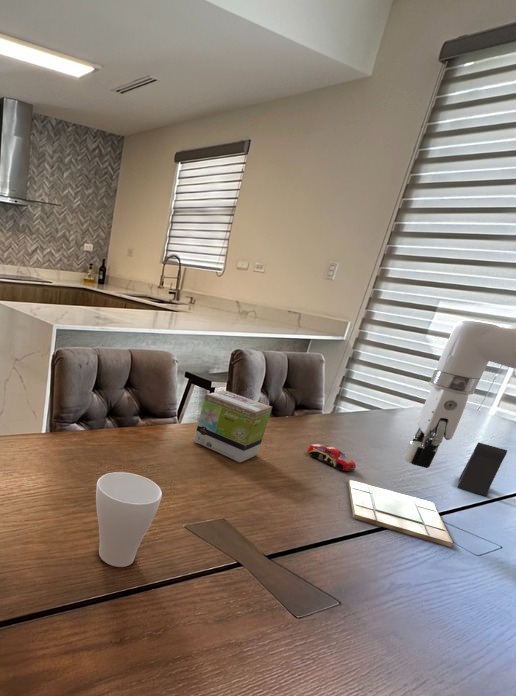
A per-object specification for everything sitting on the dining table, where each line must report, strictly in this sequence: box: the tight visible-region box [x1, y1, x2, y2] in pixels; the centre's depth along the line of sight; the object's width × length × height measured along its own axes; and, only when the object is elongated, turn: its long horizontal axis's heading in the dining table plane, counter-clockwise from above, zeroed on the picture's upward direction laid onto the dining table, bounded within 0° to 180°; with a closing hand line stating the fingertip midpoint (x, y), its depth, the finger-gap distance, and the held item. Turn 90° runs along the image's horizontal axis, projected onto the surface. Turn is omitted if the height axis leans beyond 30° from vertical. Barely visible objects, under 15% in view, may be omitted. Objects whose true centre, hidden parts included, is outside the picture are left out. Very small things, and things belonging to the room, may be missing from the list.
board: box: [347, 479, 454, 548], centre depth 108 cm, size 18×20×1 cm
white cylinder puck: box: [402, 440, 439, 468], centre depth 103 cm, size 5×5×4 cm
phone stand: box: [457, 442, 508, 497], centre depth 124 cm, size 9×6×12 cm, turn 138°
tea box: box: [193, 389, 273, 464], centre depth 128 cm, size 15×10×15 cm, turn 43°
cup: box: [95, 471, 163, 568], centre depth 78 cm, size 10×10×14 cm
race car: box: [306, 443, 357, 472], centre depth 130 cm, size 13×5×4 cm, turn 26°
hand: (417, 460), depth 104 cm, fingers closed on white cylinder puck, 5 cm apart
